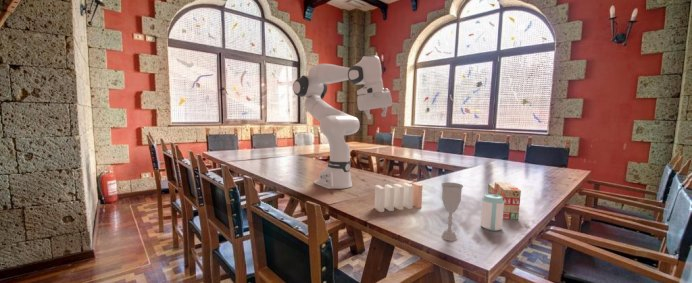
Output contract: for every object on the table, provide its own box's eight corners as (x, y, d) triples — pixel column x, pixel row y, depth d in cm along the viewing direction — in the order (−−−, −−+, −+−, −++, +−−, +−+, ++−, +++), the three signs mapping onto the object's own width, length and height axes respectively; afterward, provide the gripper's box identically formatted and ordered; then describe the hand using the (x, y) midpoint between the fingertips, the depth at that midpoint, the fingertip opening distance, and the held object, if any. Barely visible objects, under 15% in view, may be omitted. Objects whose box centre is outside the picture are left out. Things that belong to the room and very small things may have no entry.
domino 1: (379, 212, 123) (380, 188, 122) (374, 207, 128) (375, 185, 127) (384, 211, 124) (385, 188, 122) (378, 207, 129) (379, 185, 128)
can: (480, 222, 113) (482, 192, 112) (500, 225, 110) (503, 194, 109) (481, 229, 106) (483, 197, 105) (503, 232, 104) (505, 199, 103)
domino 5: (417, 208, 129) (418, 185, 128) (410, 204, 134) (411, 182, 133) (421, 207, 129) (422, 185, 128) (414, 203, 134) (415, 182, 133)
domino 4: (408, 209, 127) (409, 186, 126) (402, 205, 132) (402, 183, 131) (412, 208, 128) (413, 186, 127) (405, 204, 133) (406, 183, 132)
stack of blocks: (486, 202, 138) (488, 177, 137) (501, 203, 137) (503, 177, 136) (501, 219, 118) (503, 189, 116) (518, 220, 116) (521, 190, 115)
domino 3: (399, 210, 126) (400, 187, 125) (393, 206, 131) (393, 184, 130) (403, 209, 126) (404, 186, 125) (397, 205, 132) (397, 183, 131)
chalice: (456, 244, 94) (459, 189, 92) (435, 238, 98) (438, 185, 97) (462, 236, 100) (466, 184, 98) (442, 231, 104) (445, 181, 102)
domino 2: (389, 211, 124) (390, 187, 123) (383, 206, 130) (384, 184, 128) (393, 210, 125) (394, 187, 124) (387, 206, 130) (388, 184, 129)
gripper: (384, 88, 151) (387, 115, 153) (354, 91, 138) (357, 120, 140) (393, 87, 146) (396, 115, 148) (362, 90, 134) (366, 120, 136)
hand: (377, 117), depth 144 cm, fingers open, 8 cm apart
